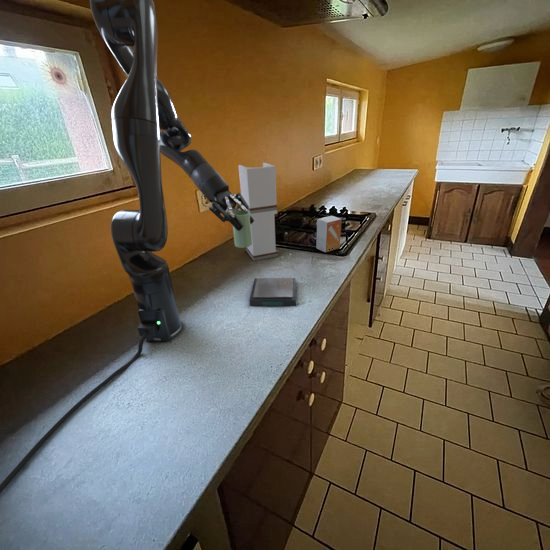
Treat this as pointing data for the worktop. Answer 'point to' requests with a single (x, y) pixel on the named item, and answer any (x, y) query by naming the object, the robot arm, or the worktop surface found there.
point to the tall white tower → (260, 208)
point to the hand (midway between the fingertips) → (246, 225)
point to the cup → (243, 229)
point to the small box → (328, 233)
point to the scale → (273, 292)
